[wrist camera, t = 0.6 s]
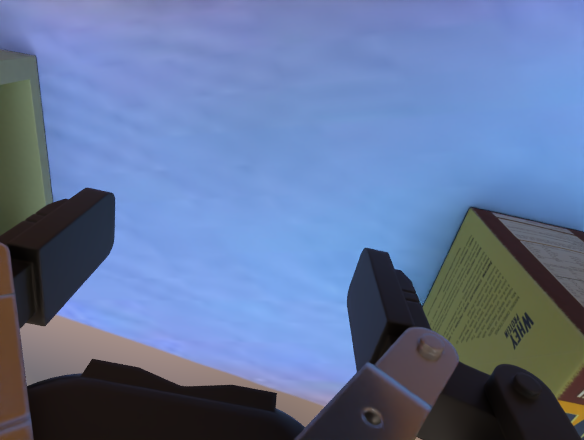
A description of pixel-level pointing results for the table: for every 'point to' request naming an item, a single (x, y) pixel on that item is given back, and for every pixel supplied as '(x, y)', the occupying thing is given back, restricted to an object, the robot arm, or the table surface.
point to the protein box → (516, 302)
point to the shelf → (21, 141)
